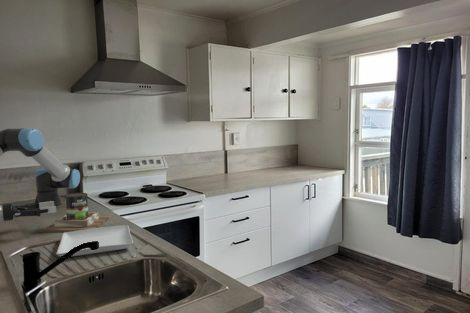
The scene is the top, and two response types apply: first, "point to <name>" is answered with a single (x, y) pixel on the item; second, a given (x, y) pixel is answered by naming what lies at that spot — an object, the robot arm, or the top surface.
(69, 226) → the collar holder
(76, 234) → the square plate
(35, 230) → the top surface
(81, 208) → the coffee can
